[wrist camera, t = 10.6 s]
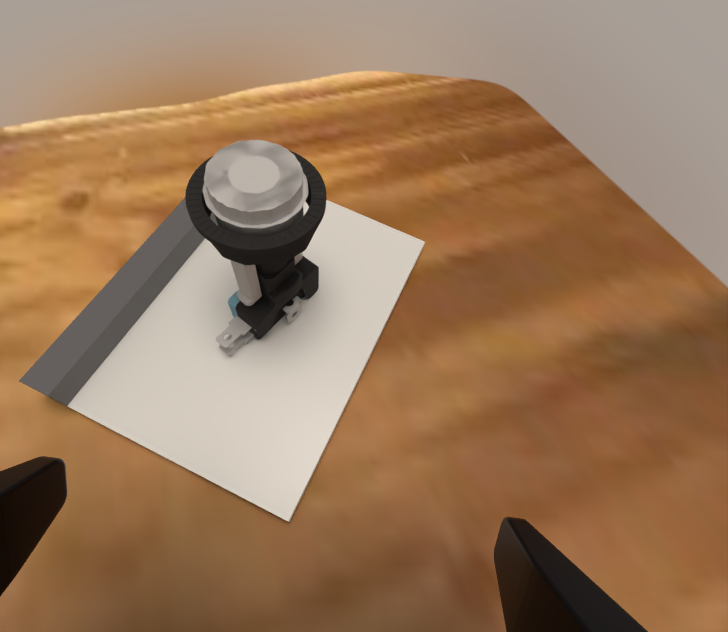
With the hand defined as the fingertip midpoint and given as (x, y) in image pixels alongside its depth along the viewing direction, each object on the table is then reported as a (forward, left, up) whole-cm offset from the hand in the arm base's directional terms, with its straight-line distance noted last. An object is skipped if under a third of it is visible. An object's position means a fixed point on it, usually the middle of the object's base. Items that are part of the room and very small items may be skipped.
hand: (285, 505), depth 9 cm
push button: (+9, +7, -12) cm, 17 cm away
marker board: (+9, +8, -13) cm, 17 cm away
